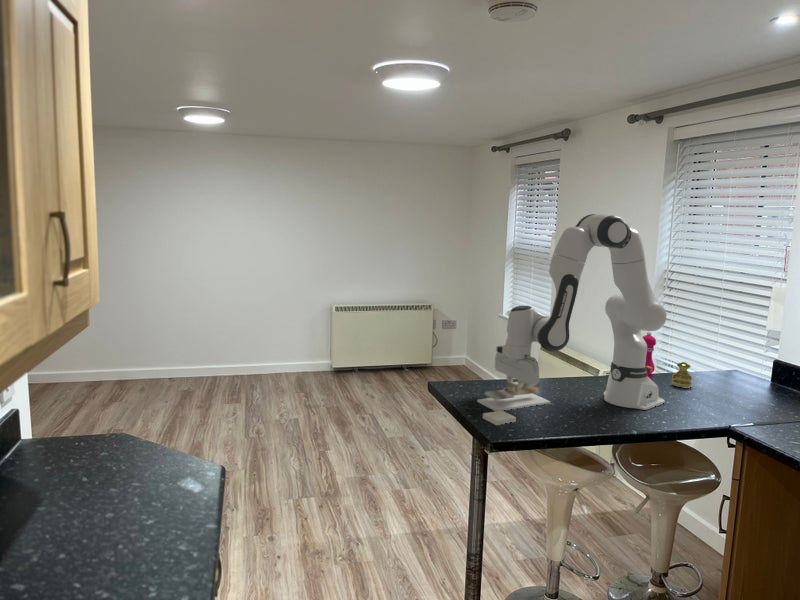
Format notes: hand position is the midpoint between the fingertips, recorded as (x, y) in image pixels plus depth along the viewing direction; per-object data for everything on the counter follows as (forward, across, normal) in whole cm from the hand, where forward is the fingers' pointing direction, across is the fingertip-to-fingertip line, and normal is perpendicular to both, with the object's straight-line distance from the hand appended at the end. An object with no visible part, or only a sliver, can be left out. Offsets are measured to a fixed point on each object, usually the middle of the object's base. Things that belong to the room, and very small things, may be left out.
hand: (514, 389), depth 208 cm
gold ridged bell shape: (+4, -8, -80) cm, 81 cm away
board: (+5, 0, 0) cm, 5 cm away
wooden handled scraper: (+2, 0, 0) cm, 2 cm away
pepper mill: (+4, +6, -75) cm, 76 cm away
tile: (+4, -12, +12) cm, 17 cm away
